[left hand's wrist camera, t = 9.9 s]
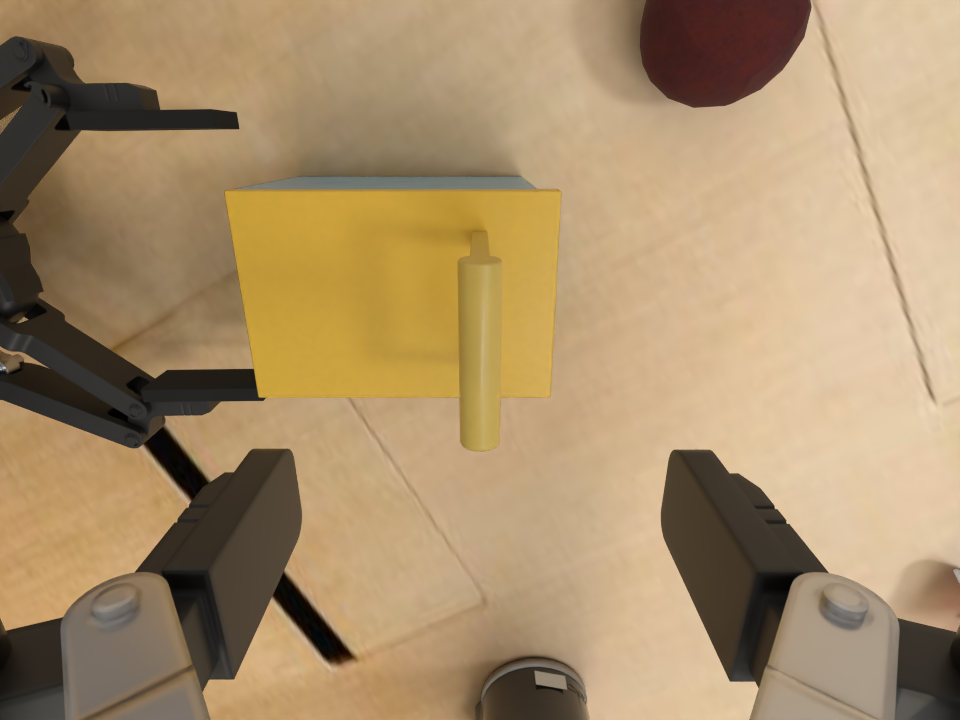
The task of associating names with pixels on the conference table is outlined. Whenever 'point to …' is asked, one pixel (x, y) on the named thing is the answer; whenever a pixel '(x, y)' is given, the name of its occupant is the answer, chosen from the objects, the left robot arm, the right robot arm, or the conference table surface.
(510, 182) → the chest
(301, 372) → the lid
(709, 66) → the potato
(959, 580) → the fish
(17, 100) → the right robot arm
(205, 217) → the conference table surface
